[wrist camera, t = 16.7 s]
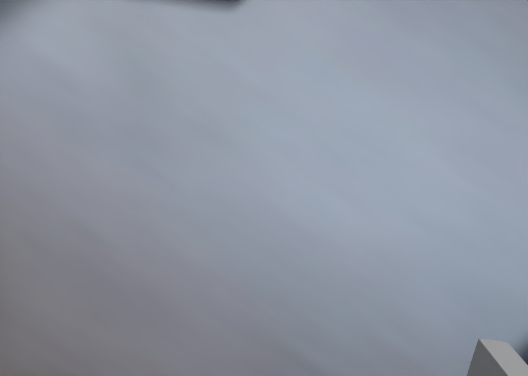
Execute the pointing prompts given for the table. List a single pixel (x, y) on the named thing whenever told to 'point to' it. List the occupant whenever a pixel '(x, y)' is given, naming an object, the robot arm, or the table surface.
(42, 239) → the table surface
